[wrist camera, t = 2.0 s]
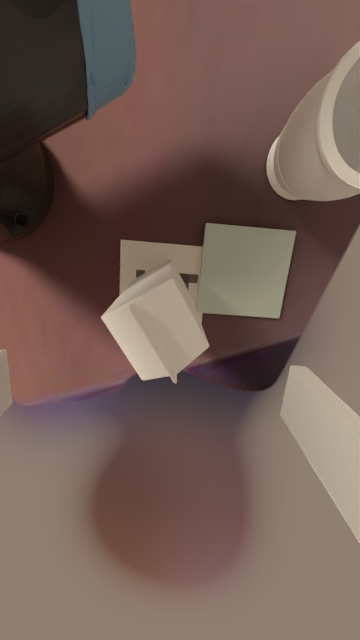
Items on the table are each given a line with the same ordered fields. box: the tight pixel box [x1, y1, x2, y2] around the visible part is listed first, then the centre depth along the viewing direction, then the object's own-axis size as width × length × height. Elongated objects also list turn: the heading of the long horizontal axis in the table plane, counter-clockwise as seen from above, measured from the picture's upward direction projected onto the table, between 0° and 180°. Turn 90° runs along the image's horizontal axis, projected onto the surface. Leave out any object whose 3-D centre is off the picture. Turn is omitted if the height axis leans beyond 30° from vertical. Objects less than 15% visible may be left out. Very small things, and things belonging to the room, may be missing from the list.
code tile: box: [120, 240, 203, 324], centre depth 39 cm, size 12×12×1 cm
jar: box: [267, 41, 360, 201], centre depth 27 cm, size 11×10×15 cm
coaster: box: [196, 223, 296, 318], centre depth 37 cm, size 12×12×1 cm
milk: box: [101, 259, 209, 384], centre depth 28 cm, size 6×6×22 cm
